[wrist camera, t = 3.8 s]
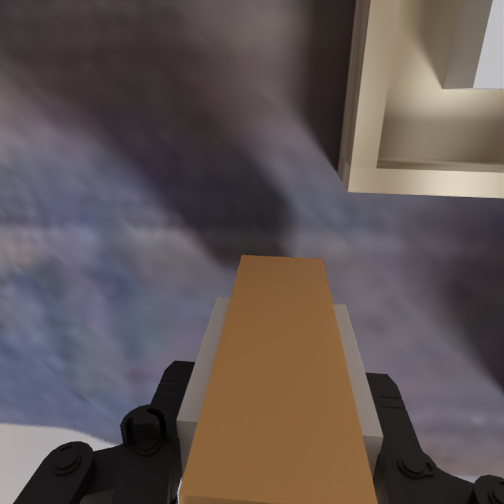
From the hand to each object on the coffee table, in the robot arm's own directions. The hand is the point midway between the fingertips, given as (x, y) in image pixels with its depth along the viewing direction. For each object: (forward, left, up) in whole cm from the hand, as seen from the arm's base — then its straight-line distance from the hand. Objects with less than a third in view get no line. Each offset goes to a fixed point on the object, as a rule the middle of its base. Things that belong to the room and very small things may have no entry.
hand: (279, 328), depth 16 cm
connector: (0, 0, -3) cm, 3 cm away
